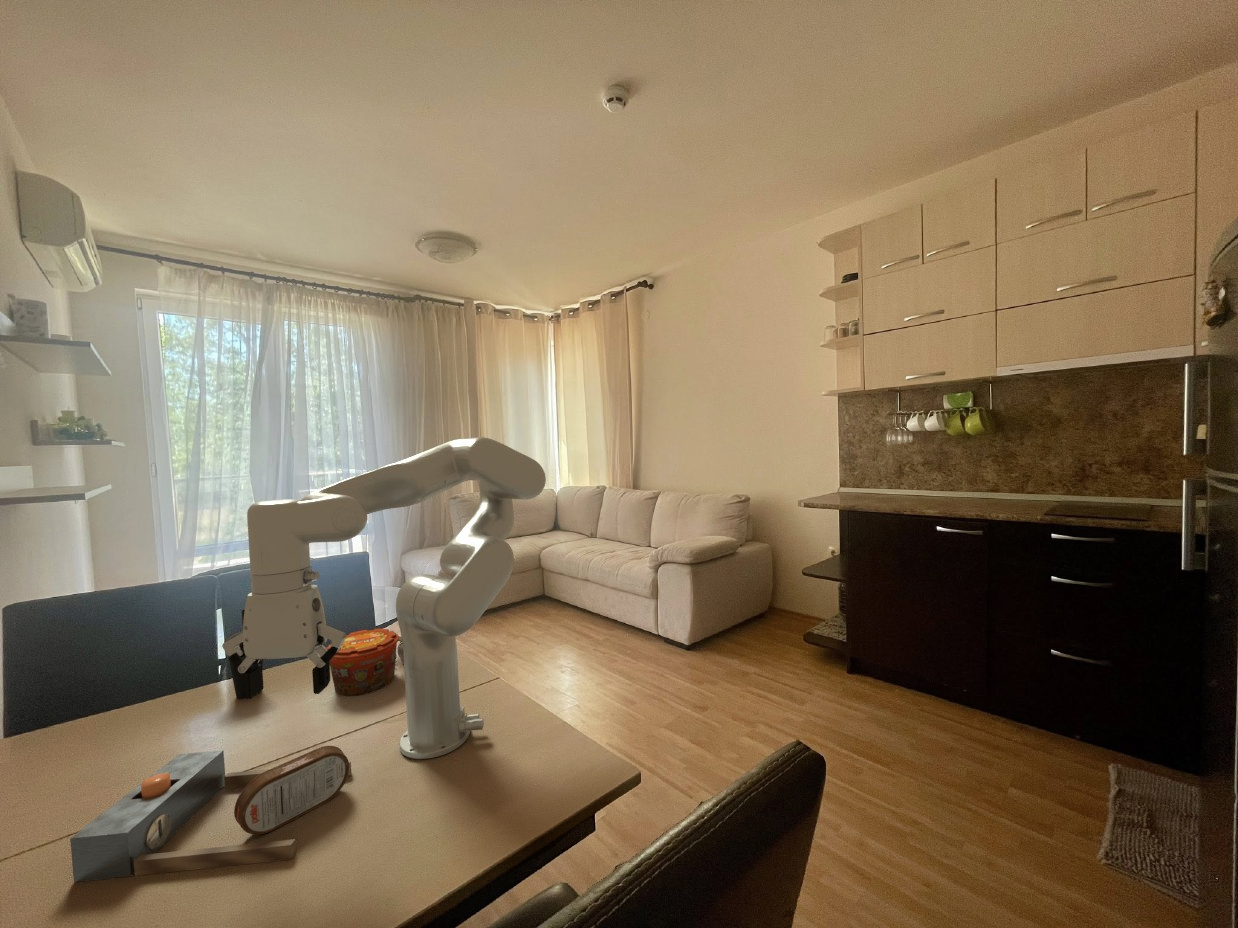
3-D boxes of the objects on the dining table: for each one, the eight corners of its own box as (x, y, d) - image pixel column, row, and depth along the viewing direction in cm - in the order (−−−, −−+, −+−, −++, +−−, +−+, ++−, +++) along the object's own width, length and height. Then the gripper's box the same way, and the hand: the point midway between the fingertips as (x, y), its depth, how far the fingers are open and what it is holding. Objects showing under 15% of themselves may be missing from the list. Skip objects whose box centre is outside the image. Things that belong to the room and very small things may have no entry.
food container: (336, 707, 108) (333, 659, 108) (320, 683, 120) (317, 640, 120) (411, 682, 119) (408, 638, 119) (389, 662, 131) (386, 622, 130)
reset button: (177, 790, 76) (175, 771, 76) (159, 805, 73) (158, 785, 73) (154, 792, 76) (153, 773, 76) (136, 807, 73) (134, 787, 73)
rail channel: (351, 772, 86) (350, 761, 86) (291, 858, 68) (291, 844, 68) (229, 784, 84) (228, 772, 84) (134, 875, 66) (133, 861, 66)
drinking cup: (236, 689, 119) (231, 607, 118) (273, 683, 121) (268, 603, 120) (222, 704, 112) (215, 617, 111) (261, 698, 114) (255, 612, 113)
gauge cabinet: (228, 784, 84) (226, 749, 84) (134, 875, 66) (131, 832, 66) (181, 788, 83) (179, 753, 83) (73, 881, 65) (70, 838, 65)
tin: (345, 783, 83) (342, 734, 83) (353, 790, 81) (350, 740, 81) (235, 840, 72) (231, 783, 71) (241, 851, 70) (237, 792, 69)
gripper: (352, 571, 79) (357, 676, 80) (238, 578, 78) (244, 684, 79) (329, 584, 72) (335, 700, 73) (202, 591, 71) (209, 709, 71)
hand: (288, 692), depth 76 cm, fingers open, 9 cm apart
